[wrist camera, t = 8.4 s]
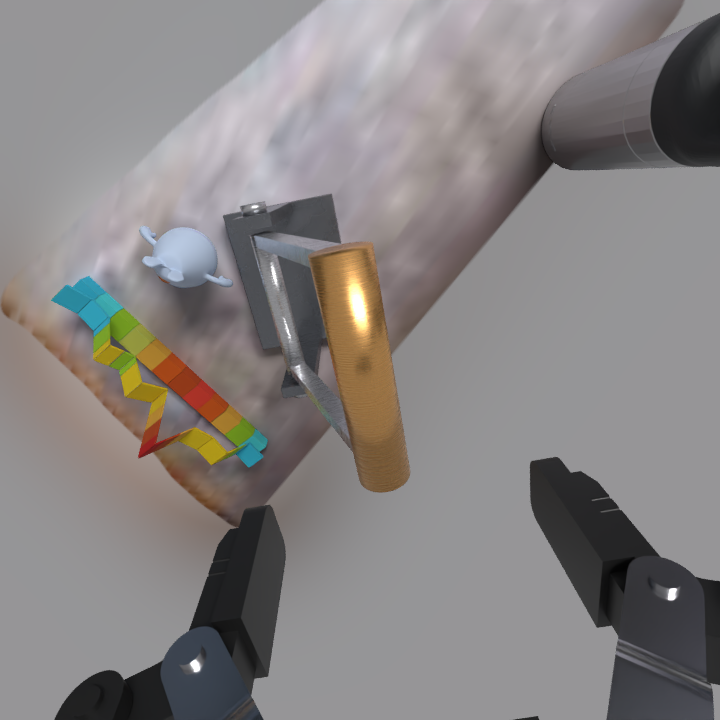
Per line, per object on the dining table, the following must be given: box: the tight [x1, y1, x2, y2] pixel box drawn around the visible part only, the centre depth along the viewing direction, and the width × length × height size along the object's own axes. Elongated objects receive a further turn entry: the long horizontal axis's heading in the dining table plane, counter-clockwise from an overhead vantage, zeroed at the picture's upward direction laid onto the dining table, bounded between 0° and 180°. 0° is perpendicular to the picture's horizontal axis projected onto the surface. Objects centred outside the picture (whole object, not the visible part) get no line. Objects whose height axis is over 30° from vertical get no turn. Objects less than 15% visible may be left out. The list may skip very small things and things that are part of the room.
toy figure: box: [139, 226, 233, 288], centre depth 43 cm, size 11×6×12 cm, turn 55°
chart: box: [51, 276, 268, 468], centre depth 48 cm, size 30×3×15 cm, turn 39°
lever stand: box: [223, 194, 341, 398], centre depth 42 cm, size 12×18×16 cm
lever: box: [249, 231, 410, 492], centre depth 29 cm, size 3×13×20 cm, turn 12°
